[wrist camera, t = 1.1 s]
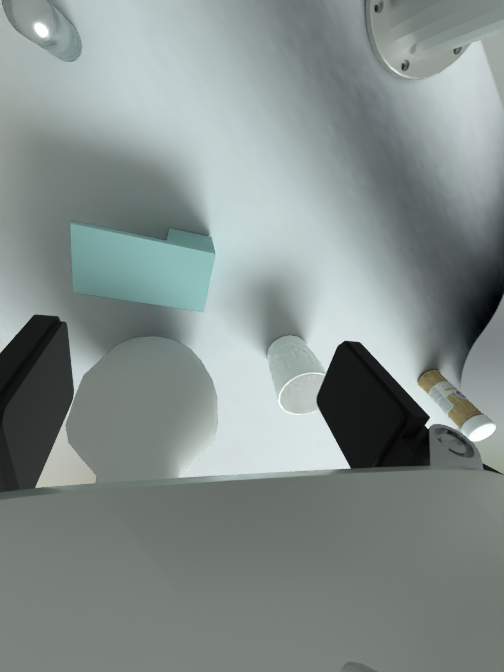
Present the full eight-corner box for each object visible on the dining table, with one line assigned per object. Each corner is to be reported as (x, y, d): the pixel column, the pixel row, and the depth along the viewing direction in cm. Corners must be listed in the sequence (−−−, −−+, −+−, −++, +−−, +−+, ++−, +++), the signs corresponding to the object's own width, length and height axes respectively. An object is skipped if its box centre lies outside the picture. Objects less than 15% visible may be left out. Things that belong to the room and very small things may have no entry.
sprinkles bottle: (442, 368, 58) (502, 422, 47) (432, 386, 60) (487, 441, 49) (422, 369, 57) (478, 424, 46) (413, 387, 59) (464, 443, 48)
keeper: (89, 209, 33) (69, 223, 27) (211, 237, 36) (215, 253, 31) (90, 269, 36) (72, 292, 31) (201, 289, 40) (203, 312, 34)
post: (43, 10, 24) (-2, -30, 19) (81, 25, 25) (49, -10, 20) (46, 54, 26) (5, 29, 20) (81, 67, 27) (52, 46, 21)
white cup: (266, 375, 51) (281, 420, 42) (260, 337, 46) (275, 380, 38) (310, 364, 51) (333, 407, 43) (308, 326, 47) (334, 366, 38)
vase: (111, 403, 48) (39, 645, 25) (82, 314, 39) (-72, 562, 16) (214, 392, 51) (236, 602, 28) (209, 306, 42) (235, 510, 19)
